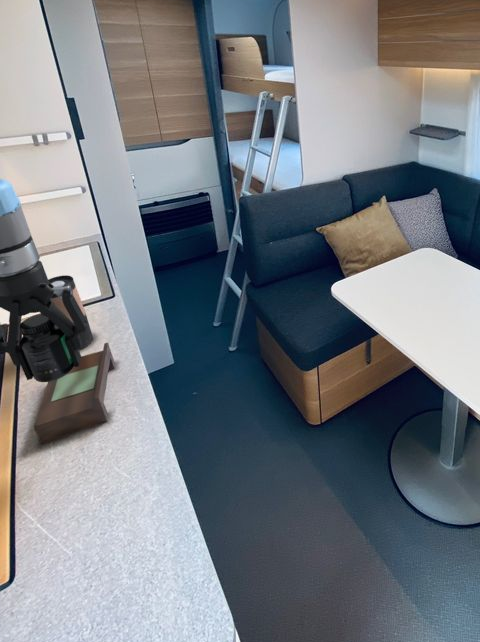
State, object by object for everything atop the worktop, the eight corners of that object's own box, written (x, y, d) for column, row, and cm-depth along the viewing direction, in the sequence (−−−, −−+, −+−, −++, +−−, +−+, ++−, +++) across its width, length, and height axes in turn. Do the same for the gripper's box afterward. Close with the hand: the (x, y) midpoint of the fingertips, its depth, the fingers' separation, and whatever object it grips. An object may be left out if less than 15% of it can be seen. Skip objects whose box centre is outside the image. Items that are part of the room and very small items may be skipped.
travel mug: (55, 349, 113) (30, 287, 105) (82, 332, 120) (60, 272, 112) (74, 355, 110) (49, 293, 103) (100, 338, 117) (79, 277, 109)
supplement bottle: (85, 361, 83) (67, 312, 78) (52, 387, 77) (30, 335, 72) (59, 355, 85) (40, 307, 80) (25, 379, 79) (2, 329, 74)
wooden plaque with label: (41, 443, 86) (29, 419, 83) (60, 379, 103) (51, 357, 100) (107, 421, 91) (98, 397, 88) (115, 363, 107) (107, 342, 105)
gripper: (-72, 292, 65) (-16, 400, 74) (77, 264, 72) (111, 364, 81) (-51, 270, 71) (-2, 372, 80) (84, 246, 79) (115, 341, 88)
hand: (55, 368), depth 81 cm, fingers closed on supplement bottle, 7 cm apart
